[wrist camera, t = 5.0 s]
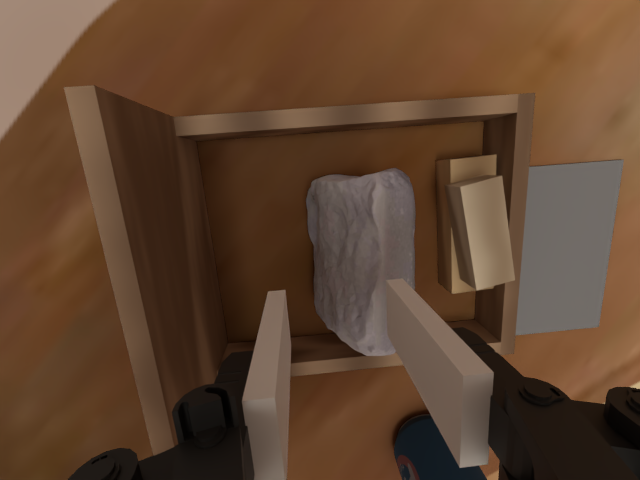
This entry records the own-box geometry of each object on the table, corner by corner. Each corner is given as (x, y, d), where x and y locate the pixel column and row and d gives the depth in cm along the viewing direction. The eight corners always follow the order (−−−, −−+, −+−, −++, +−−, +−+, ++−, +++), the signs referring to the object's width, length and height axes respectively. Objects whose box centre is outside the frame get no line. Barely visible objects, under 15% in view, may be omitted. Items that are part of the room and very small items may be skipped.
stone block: (355, 300, 29) (424, 358, 20) (306, 309, 27) (356, 376, 18) (353, 170, 26) (432, 166, 17) (299, 171, 25) (354, 169, 16)
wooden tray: (217, 356, 29) (160, 483, 17) (178, 126, 24) (63, 87, 13) (486, 329, 30) (604, 432, 18) (499, 104, 25) (669, 49, 14)
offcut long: (436, 281, 29) (452, 293, 26) (433, 160, 26) (450, 159, 23) (474, 276, 29) (493, 288, 26) (474, 156, 26) (496, 154, 24)
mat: (488, 336, 30) (490, 337, 30) (498, 169, 26) (500, 169, 26) (596, 325, 31) (598, 326, 30) (621, 159, 27) (623, 159, 27)
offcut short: (460, 279, 26) (476, 290, 23) (444, 185, 24) (460, 187, 21) (494, 269, 26) (515, 280, 23) (481, 174, 24) (502, 175, 21)
